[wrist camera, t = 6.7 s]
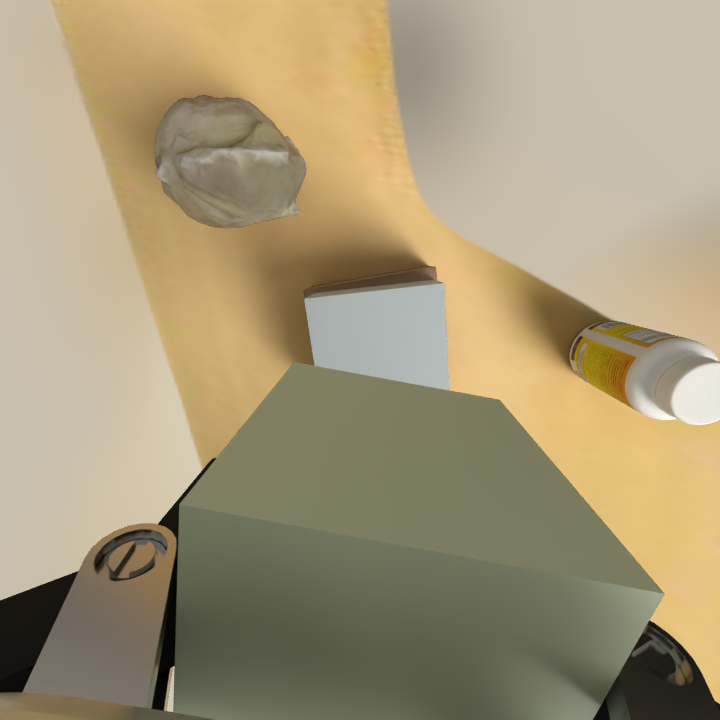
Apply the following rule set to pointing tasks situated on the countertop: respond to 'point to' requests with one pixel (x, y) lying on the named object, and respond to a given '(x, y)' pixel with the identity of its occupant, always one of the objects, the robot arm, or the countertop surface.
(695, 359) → the supplement bottle
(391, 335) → the grey-blue block
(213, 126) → the garlic bulb
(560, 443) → the countertop surface
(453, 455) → the sage cube
